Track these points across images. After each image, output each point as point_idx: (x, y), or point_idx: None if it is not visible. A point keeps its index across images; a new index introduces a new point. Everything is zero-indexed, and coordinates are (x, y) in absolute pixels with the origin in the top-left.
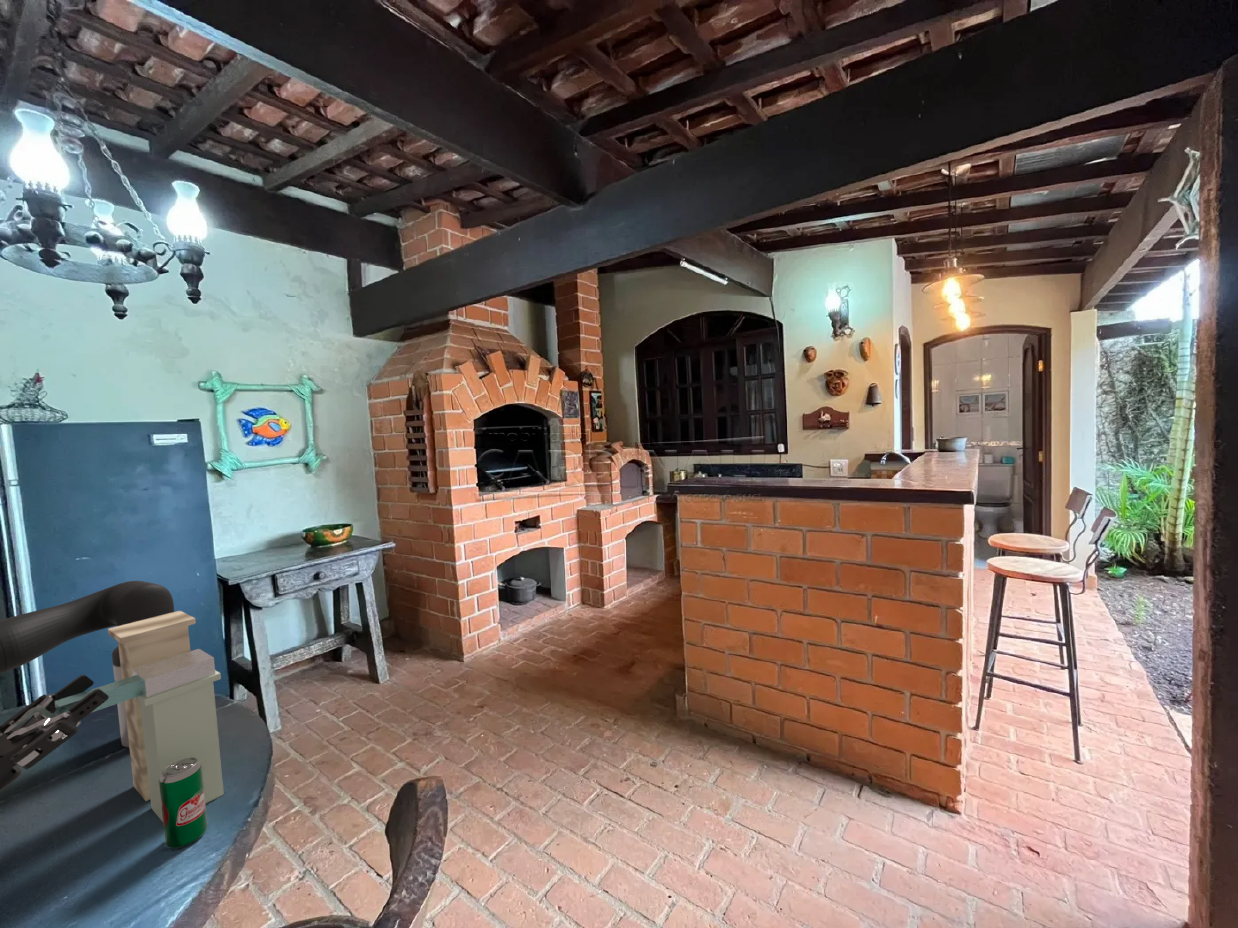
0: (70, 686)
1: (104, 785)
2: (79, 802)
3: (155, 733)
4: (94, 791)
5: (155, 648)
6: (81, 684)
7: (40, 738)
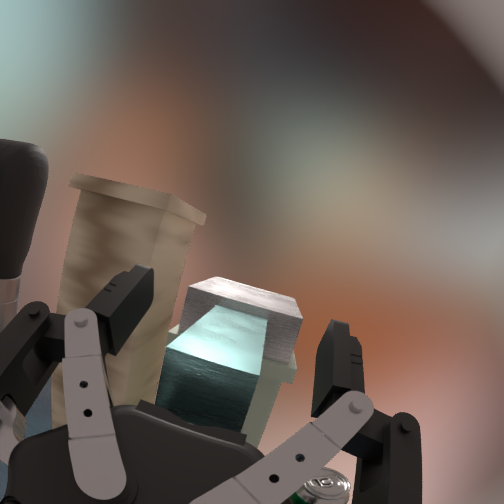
0: (133, 295)
1: (7, 466)
2: (3, 493)
3: (259, 439)
4: (4, 475)
5: (170, 251)
6: (143, 297)
7: (412, 486)
